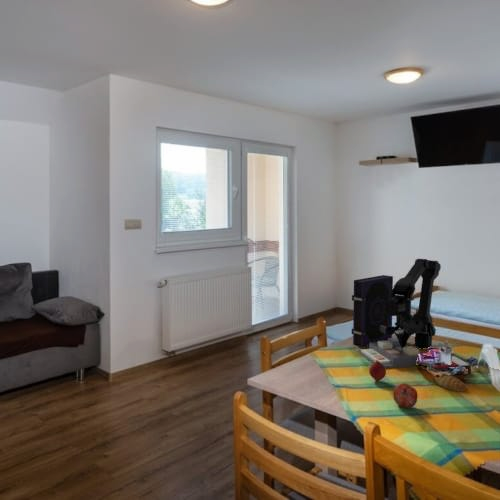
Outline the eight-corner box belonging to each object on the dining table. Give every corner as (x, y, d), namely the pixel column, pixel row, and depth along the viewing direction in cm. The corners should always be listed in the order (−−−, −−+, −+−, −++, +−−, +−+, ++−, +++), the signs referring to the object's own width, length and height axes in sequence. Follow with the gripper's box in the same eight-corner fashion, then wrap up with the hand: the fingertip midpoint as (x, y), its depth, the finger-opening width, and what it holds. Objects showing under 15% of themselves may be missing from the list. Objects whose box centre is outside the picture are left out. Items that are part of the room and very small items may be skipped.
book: (381, 334, 229) (382, 274, 226) (392, 337, 224) (393, 276, 221) (351, 344, 214) (352, 280, 211) (362, 347, 209) (363, 281, 206)
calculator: (419, 358, 183) (454, 354, 185) (419, 368, 184) (454, 364, 186) (434, 367, 172) (471, 363, 174) (434, 379, 173) (471, 374, 175)
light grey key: (387, 347, 199) (387, 340, 198) (392, 350, 194) (392, 343, 194) (377, 348, 198) (377, 341, 198) (382, 351, 193) (382, 344, 193)
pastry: (470, 389, 161) (471, 379, 160) (459, 394, 157) (460, 383, 156) (446, 381, 168) (446, 371, 168) (434, 386, 164) (435, 375, 164)
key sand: (412, 353, 190) (413, 346, 190) (418, 356, 186) (419, 349, 186) (403, 354, 190) (403, 346, 189) (408, 357, 185) (409, 350, 185)
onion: (386, 379, 170) (387, 358, 169) (384, 385, 165) (384, 363, 164) (370, 377, 172) (371, 356, 172) (367, 382, 167) (368, 361, 166)
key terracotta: (394, 356, 193) (394, 349, 192) (400, 359, 188) (400, 352, 188) (384, 357, 192) (385, 350, 191) (390, 360, 187) (390, 353, 187)
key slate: (397, 344, 203) (397, 337, 203) (402, 347, 199) (402, 340, 198) (387, 345, 202) (388, 338, 202) (392, 348, 198) (393, 341, 198)
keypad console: (397, 349, 205) (397, 340, 205) (424, 365, 185) (424, 355, 185) (357, 352, 202) (357, 343, 201) (380, 368, 181) (380, 359, 181)
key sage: (404, 353, 197) (404, 346, 197) (410, 356, 193) (410, 349, 192) (395, 354, 196) (395, 347, 196) (400, 357, 192) (400, 350, 192)
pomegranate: (393, 407, 152) (386, 397, 145) (400, 386, 155) (394, 376, 148) (416, 415, 148) (410, 406, 141) (422, 393, 150) (417, 383, 143)
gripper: (392, 317, 183) (391, 356, 184) (435, 314, 187) (434, 352, 188) (379, 311, 194) (378, 347, 195) (419, 309, 197) (418, 344, 199)
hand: (402, 348), depth 194 cm, fingers closed, pressing on key sage
